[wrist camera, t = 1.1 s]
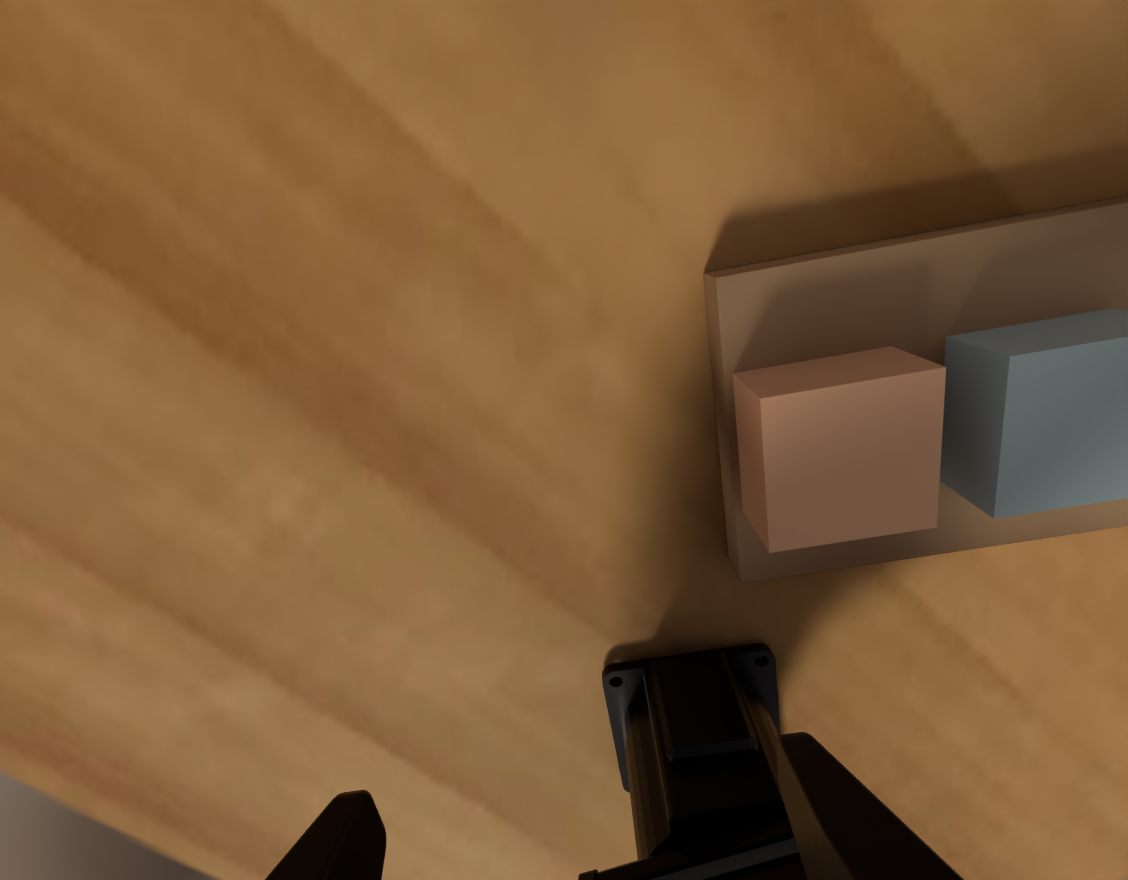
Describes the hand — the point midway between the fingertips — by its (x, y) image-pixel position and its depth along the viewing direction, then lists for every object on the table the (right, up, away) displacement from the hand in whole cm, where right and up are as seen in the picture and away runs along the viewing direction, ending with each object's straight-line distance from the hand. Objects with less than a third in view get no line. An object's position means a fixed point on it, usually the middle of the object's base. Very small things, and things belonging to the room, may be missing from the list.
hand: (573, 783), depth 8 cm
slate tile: (+13, +6, +9) cm, 17 cm away
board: (+12, +6, +10) cm, 17 cm away
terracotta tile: (+7, +5, +9) cm, 13 cm away
